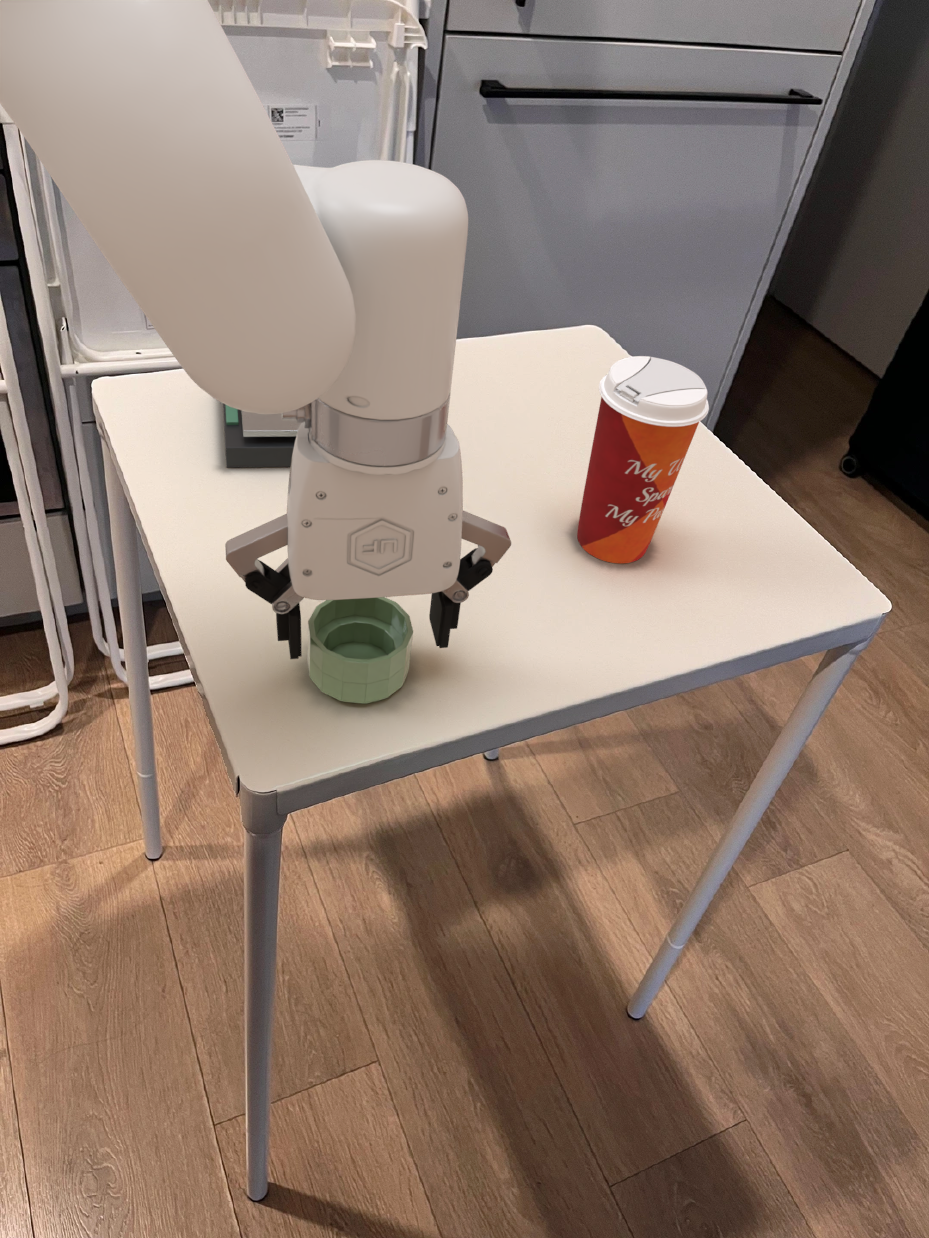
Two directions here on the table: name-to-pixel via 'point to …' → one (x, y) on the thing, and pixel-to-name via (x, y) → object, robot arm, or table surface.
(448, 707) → the table surface
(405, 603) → the table surface
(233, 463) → the scale base
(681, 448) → the coffee cup
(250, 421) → the platform
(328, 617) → the bowl
